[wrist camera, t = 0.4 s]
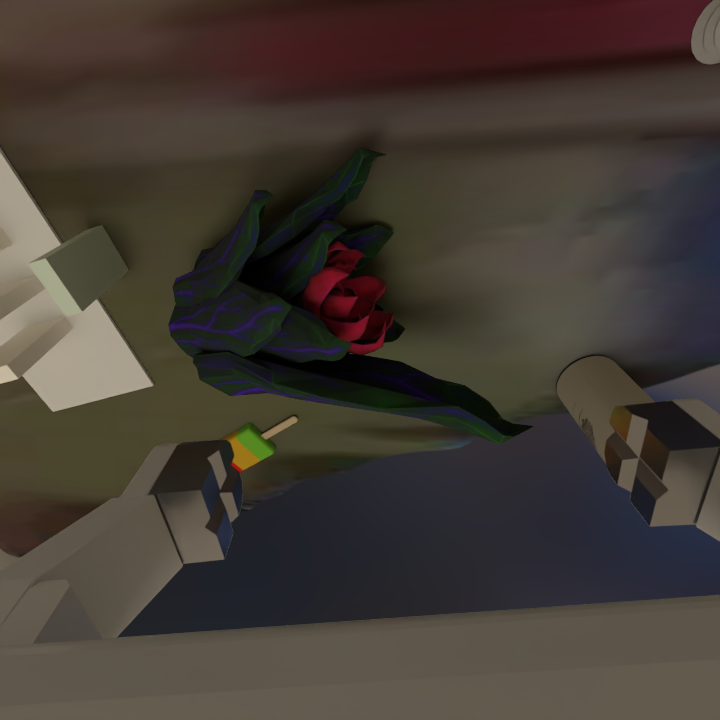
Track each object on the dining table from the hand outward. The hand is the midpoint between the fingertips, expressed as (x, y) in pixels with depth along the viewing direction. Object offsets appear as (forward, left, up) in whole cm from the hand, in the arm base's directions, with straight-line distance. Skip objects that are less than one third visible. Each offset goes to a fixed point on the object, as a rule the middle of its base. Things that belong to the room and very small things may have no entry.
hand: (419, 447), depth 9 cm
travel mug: (+33, +22, -39) cm, 55 cm away
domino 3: (+1, -27, -38) cm, 47 cm away
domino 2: (+7, -38, -38) cm, 54 cm away
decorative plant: (+9, -5, -39) cm, 40 cm away
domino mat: (+3, -38, -38) cm, 54 cm away
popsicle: (+30, -23, -39) cm, 54 cm away
